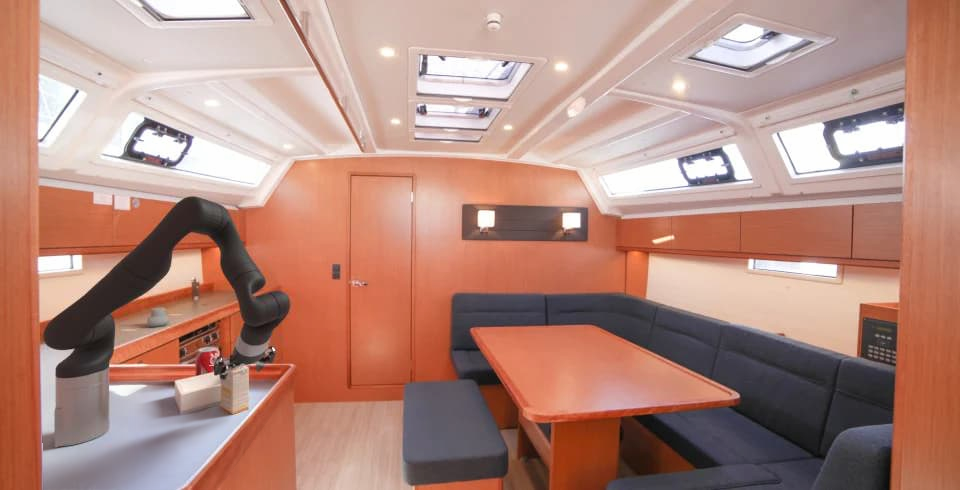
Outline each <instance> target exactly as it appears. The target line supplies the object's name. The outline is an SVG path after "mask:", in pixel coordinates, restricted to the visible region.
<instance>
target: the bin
mask: <svg viewBox="0 0 960 490" xmlns="http://www.w3.org/2000/svg"><path fill="white" fill-rule="evenodd" d="M174 402H175V404H176V406H177V409H178V412H179V415H181V416H182V415H186V414H190V413H193V412H196V411H201V410H204V409H207V408H211V407H214V406H218V405H221V379H220V376H219V375H214V372H212V373H208V374H203V375H199V376H190V377H186V378H182V379H177V380H174Z"/></svg>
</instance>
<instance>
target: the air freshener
mask: <svg viewBox="0 0 960 490" xmlns="http://www.w3.org/2000/svg"><path fill="white" fill-rule="evenodd" d="M150 311H151V312H150V313H151V314H150V316H149V317H147V326H148V327H150V328H159V326H160V327H163V326H164V325H165V326H167V325H169V324H170V317H169V315H167V314H166V307H164V306H163V307H162V306H161V307H153V308H151V310H150Z"/></svg>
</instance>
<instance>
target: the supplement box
mask: <svg viewBox="0 0 960 490" xmlns="http://www.w3.org/2000/svg"><path fill="white" fill-rule="evenodd" d="M234 366H235V365H234ZM227 369H228V366H227ZM249 382H250V367H249V366H248V365H244V366H241V367H239V368H237V369H236V370H234V371H230V372H228V374H227V377H226V379H225V380H222V379H221V404H220V408H221V409H223V410H225V412H228V413H229V414H231V415H235V414H237V413H240V412H243V411H245V410H249V405H250V403H249V400H250V397H249V396H250V395H249V394H250V393H249V391H250V390H249V389H250V383H249Z"/></svg>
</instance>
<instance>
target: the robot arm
mask: <svg viewBox="0 0 960 490" xmlns="http://www.w3.org/2000/svg"><path fill="white" fill-rule="evenodd" d="M190 233H194V234H197V235H198V234H199V235H203V236H208V237H209V238H210V239H211V240H212V241H213V243H215V244H216V246H217V247H218V249H219V252H220V257H219V265H220V269H221V272H222V274H223V275H224V277H225V279H226V280H227V282H228V283H229V285H230V286H231V288H232V289H233V291H234V293H235V296H236V300H237V301H238V302H237V303H238V306H239V312H240V316H241V319H242V321H243V322H244V323H243V324H242V327H241V330H240V332H239V334H238V335H237V338H236V342H235V344H234V347H233V349H232V353H231V354H230V356H228V357H223V356H222V355H220V356H219V357H217V359H216V361H215V363H214V366H213V370H214V375H219V376H220V379H222V380H225V379H226V377H227V374H228V372H230V371H234V370H236V369H237V368H239V367H241V366H244V365H245V366H250V365H253V364H254V365H255V367H256V372H257V373H258V372H261V370H263V369H264V367H265V366H266V365H267V363H268V364H272V363H273V362H274V360H275V357H276V355H277V354H276V349H275V348H276V347H275V346H274V345H271V346H269V344H270V342H271V337H272V335H273V332H274V330H275V329H276V328H278V327H279V325H280V324H281V323H282V322H283V321H284V320H285V319H286V317H287V316H288V314H289V313H290V310H291V300H290V297H289V296H288V294H287V293H286V292H284V291H282V290H272V291H269V292H265V293H262V294H258V295H256V296H254V294H256V293H258V292H259V291H261V290H262V289H263V288H264V287H265V285H266V283H267V280H266V278H265V276H264V274H263V273H262V271H261V270H260V268H259V267H258V266H257V264H256V263H255V262H254V260H253V259H252V257H251V256H250V254H249V252H248V250H247V249H246V247H245V245H244V243H243V240H242V238H241V235H240V234H239V232H238V230H237V226H236V225H235V221H234V219H233V217H232V216H231V214H230V212H229V210H228V209H227V208H226V207H225V206H223V205H222V204H220V203H217V202H215V201H212V200H209V199H205V198H202V197H200V196H194V195H193V196H191V195H190V196H187V197H184V198H182V199H181V200H179V201H178V202H177V203H175V204H174V206H172V207H171V209H170V210H169V211H168V212H167V214H165V216H164V217H163V218H162V219H161V221H160V222H159V223H158V224H157V225H156V226H155V228H153V229H152V231H151V232H150V233H149V234H148V235H147V236H146V237H145V238H144V239H143V240H142V241H141V242H140V243H139V244H138V245H137V246H136V247H135V248H133V249H132V250H131V251H130V252H129V253H128V254H127V255H125V256H124V257H123V258H122V259H121V260H120V261H119V262H117V264H115V266H114V267H112V269H111V270H110V271H109V272H108V273H107V274H106V275H104V277H103V278H101V279H100V280H99V281H97V283H95V285H94V286H92V287H91V288H90V289H89V290H88V291H87V292H86V293H85V294H84V295H82V296H81V297H80V298H78V299H77V300H76V301H75V302H73V303H72V304H71V305H69V306H68V307H66V308H65V309H64V310H62V311H61V312H59V313H58V314H57V315H55V316H54V317H53V318H52V319H51V320H50V321H49V322H48V323H47V324H46V325H45V328H44V330H43V336H42V337H43V342H44V343H45V345H46V346H47V347H48V348H50V349H53V350H56V351H69V350H72V352H71V353H70V354H69V355H68V356H67V357H66V358H64V359H63V360H61V361H60V362H59V363H58V364H57V365H56V367H55V373H54V374H55V408H54V412H53V413H54V419H53V420H54V421H53V422H54V430H53V431H54V448H59V446H60V447H67V446H73V445H79V444H83V443H86V442H89V441H92V440H95V439H96V438H99V437H101V436H102V435H104V434H106V433H107V432H108V431H109V430H110V421H111V420H110V361H111V359H112V358H113V355H114V353H115V340H116V339H115V338H116V321H115V318H114V316H113V315H112V313H114V312H116V311H117V310H119V309H120V308H122V307H124V306H126V305H128V304H130V303H132V302H133V301H135V300H137V299H139V298H140V297H142V296H143V295H145V294H147V293H149V291H151V290H153V288H155V286H156V285H158V283H160V282H161V281H162V280H163V278H165V277H166V276H167V274H168V273H169V272H170V270H171V267H172V262H173V261H172V260H173V252H174V250H175V247H177V246H178V244H179V243H180V242H181V241H182V240H183V239H184V238H185V237H187V236H188V235H189V234H190ZM268 346H269V348H268ZM265 355H266V356H265ZM234 365H235V366H234ZM227 366H228V369H227Z"/></svg>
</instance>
